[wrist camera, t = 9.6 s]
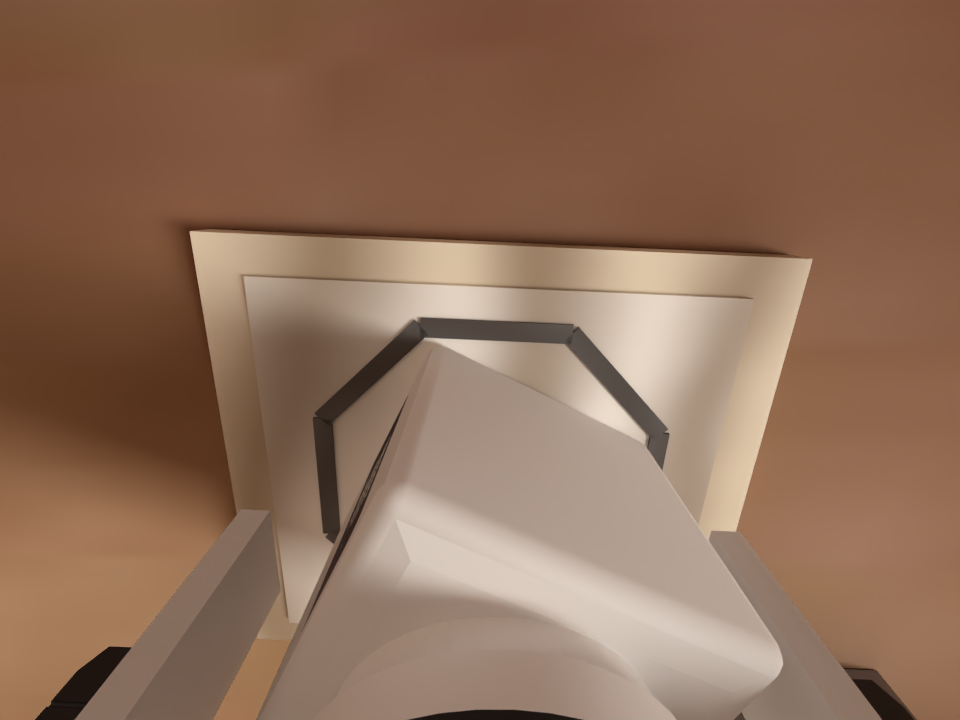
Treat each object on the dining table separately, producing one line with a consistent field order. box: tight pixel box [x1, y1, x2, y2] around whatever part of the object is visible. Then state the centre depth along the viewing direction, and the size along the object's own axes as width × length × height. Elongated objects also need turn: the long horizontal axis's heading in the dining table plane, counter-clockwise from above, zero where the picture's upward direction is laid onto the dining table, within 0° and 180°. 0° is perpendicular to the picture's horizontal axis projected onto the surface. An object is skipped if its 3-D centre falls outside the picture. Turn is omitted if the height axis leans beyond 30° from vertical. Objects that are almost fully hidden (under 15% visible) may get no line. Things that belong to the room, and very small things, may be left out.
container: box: [256, 346, 783, 720], centre depth 9 cm, size 8×8×13 cm
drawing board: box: [190, 229, 813, 640], centre depth 16 cm, size 18×16×1 cm
